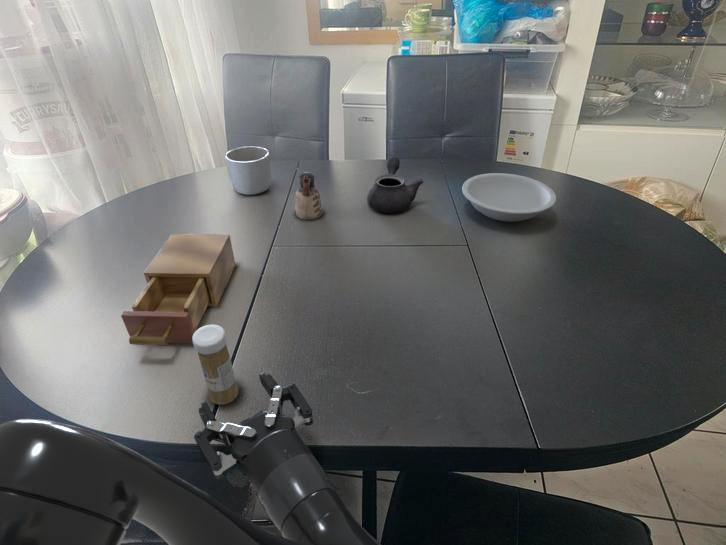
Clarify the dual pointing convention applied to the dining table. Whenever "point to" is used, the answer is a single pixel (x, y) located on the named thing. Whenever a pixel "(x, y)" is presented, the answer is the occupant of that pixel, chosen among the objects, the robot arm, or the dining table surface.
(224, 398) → the sprinkles bottle
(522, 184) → the soup bowl
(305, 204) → the figurine
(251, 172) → the planter
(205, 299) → the drawer
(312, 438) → the dining table surface
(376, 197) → the teapot
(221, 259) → the cabinet
